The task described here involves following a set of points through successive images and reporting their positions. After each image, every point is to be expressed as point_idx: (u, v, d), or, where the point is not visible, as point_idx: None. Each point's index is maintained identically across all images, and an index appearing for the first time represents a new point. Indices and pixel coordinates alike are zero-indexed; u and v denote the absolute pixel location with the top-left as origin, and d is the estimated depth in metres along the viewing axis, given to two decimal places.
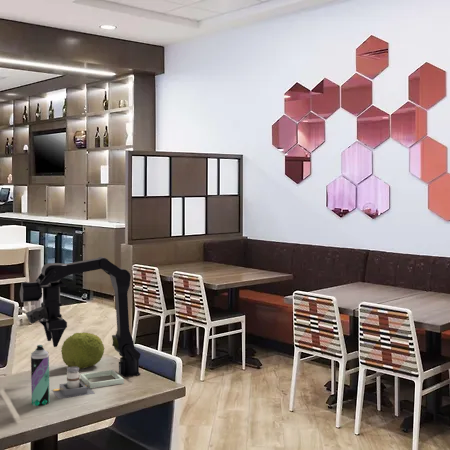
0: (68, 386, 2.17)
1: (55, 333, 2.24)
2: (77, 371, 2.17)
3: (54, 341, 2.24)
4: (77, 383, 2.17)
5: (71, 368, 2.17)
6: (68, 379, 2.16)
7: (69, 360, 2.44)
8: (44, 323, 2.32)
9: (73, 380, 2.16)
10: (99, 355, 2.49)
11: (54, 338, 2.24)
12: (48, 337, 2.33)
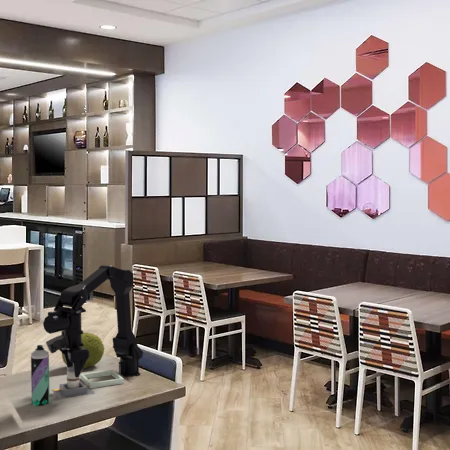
0: (68, 386, 2.17)
1: (77, 363, 2.13)
2: None
3: (76, 371, 2.13)
4: (77, 383, 2.17)
5: (71, 368, 2.17)
6: (68, 379, 2.16)
7: None
8: (64, 351, 2.21)
9: (73, 380, 2.16)
10: (99, 355, 2.49)
11: (76, 368, 2.13)
12: (69, 366, 2.22)
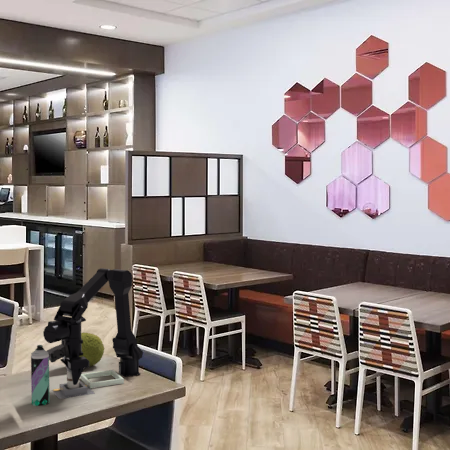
0: (68, 386, 2.17)
1: (75, 371, 2.15)
2: None
3: (74, 379, 2.15)
4: (77, 383, 2.17)
5: None
6: (68, 379, 2.16)
7: None
8: (66, 362, 2.19)
9: None
10: (99, 355, 2.49)
11: (74, 376, 2.15)
12: None
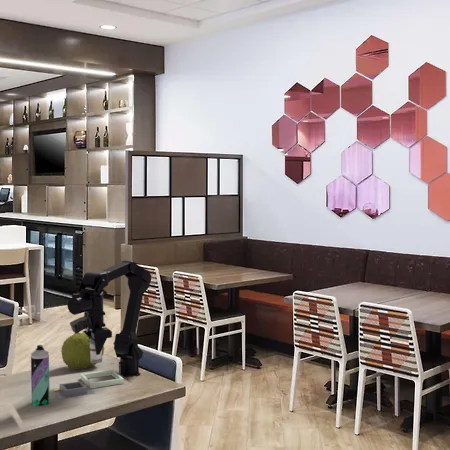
0: (91, 356, 2.26)
1: (98, 341, 2.24)
2: None
3: (97, 349, 2.24)
4: (100, 353, 2.26)
5: None
6: (91, 349, 2.25)
7: (69, 360, 2.44)
8: (89, 333, 2.28)
9: None
10: None
11: (97, 346, 2.24)
12: None
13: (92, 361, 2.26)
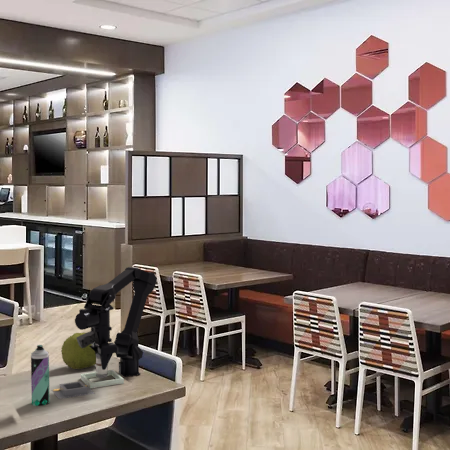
0: (97, 371, 2.28)
1: (104, 356, 2.27)
2: None
3: (103, 364, 2.27)
4: (106, 368, 2.29)
5: None
6: (97, 364, 2.28)
7: (69, 360, 2.44)
8: (95, 348, 2.31)
9: None
10: None
11: (103, 361, 2.27)
12: None
13: (98, 376, 2.28)
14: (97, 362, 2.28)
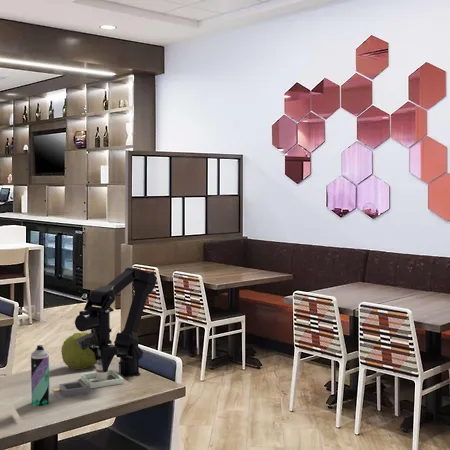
0: (97, 377, 2.29)
1: (105, 359, 2.26)
2: None
3: (104, 366, 2.26)
4: (106, 374, 2.29)
5: None
6: (98, 370, 2.29)
7: (69, 360, 2.44)
8: (94, 349, 2.32)
9: (102, 371, 2.28)
10: None
11: (104, 363, 2.26)
12: None
13: None
14: (97, 368, 2.29)
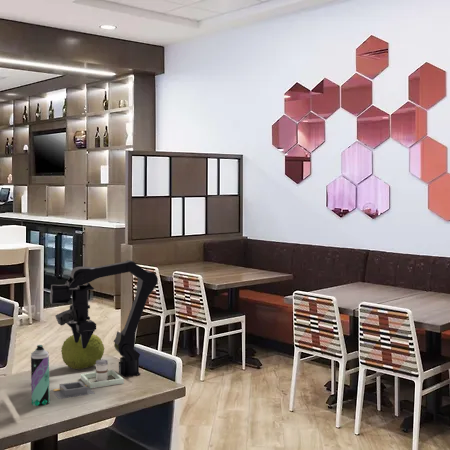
0: (97, 378, 2.29)
1: (84, 335, 2.30)
2: (105, 364, 2.29)
3: (83, 342, 2.30)
4: (106, 375, 2.29)
5: (100, 361, 2.29)
6: (97, 371, 2.28)
7: (69, 360, 2.44)
8: (72, 325, 2.39)
9: (102, 372, 2.28)
10: (99, 355, 2.49)
11: (83, 339, 2.30)
12: (76, 339, 2.39)
13: None
14: (97, 369, 2.28)
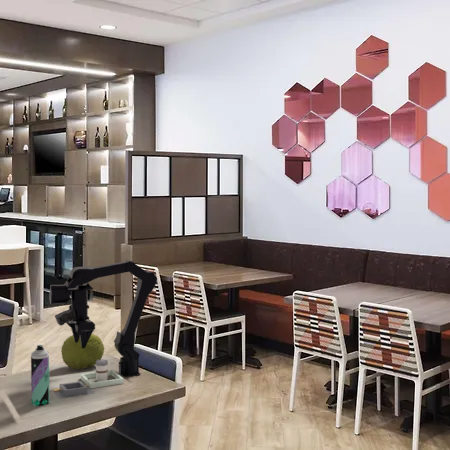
0: (97, 378, 2.29)
1: (83, 335, 2.30)
2: (105, 364, 2.29)
3: (82, 342, 2.31)
4: (106, 375, 2.29)
5: (100, 361, 2.29)
6: (97, 371, 2.28)
7: (69, 360, 2.44)
8: (72, 325, 2.39)
9: (102, 372, 2.28)
10: (99, 355, 2.49)
11: (82, 339, 2.30)
12: (75, 339, 2.40)
13: None
14: (97, 369, 2.28)
